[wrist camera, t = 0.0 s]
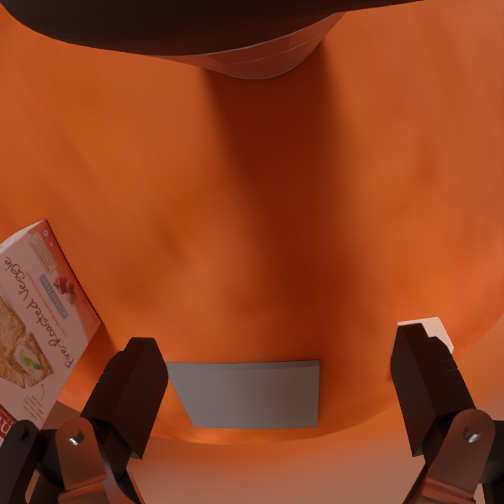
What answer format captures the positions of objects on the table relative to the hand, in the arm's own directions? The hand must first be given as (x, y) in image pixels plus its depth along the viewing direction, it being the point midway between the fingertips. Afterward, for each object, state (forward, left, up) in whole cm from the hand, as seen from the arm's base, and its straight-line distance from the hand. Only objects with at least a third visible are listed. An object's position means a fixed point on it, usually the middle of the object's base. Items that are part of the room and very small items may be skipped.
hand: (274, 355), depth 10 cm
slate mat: (+27, -6, -17) cm, 32 cm away
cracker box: (+7, -25, -17) cm, 31 cm away
